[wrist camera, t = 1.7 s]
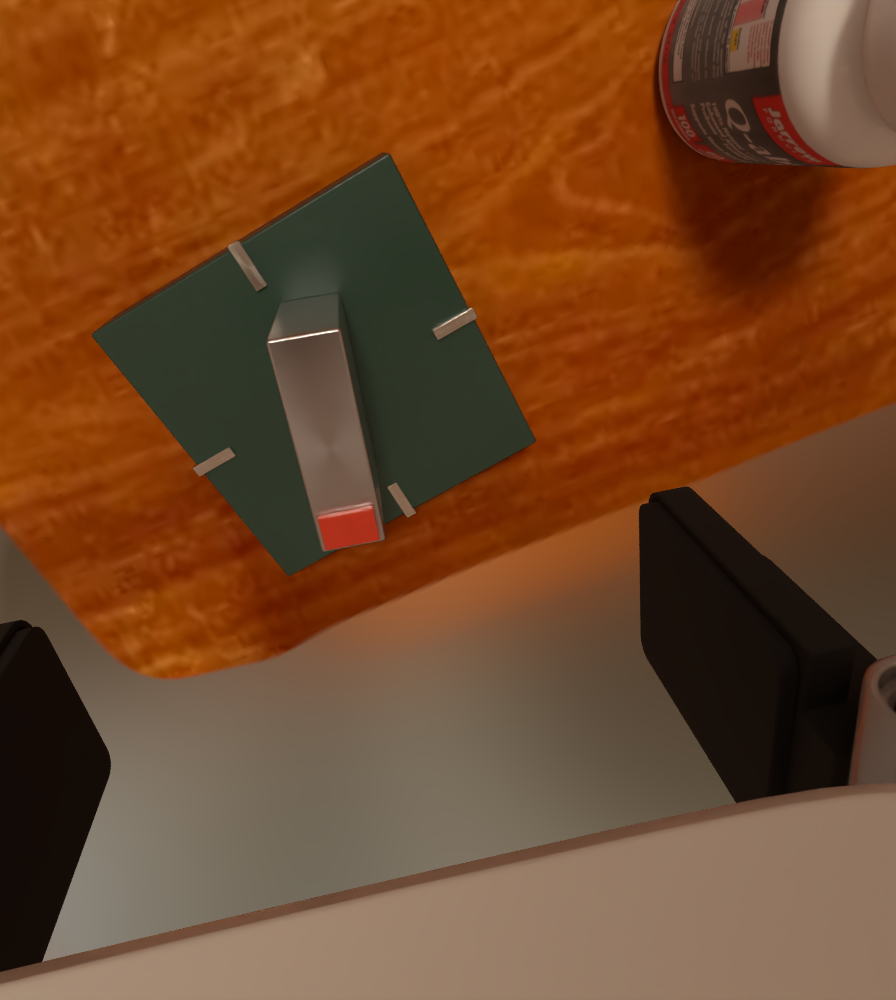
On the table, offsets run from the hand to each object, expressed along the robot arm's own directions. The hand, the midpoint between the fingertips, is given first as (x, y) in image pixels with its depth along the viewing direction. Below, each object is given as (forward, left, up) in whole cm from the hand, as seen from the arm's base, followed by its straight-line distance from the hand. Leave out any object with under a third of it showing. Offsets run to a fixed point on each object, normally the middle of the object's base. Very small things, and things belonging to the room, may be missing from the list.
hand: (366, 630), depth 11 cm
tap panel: (+1, 0, -15) cm, 15 cm away
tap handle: (+1, 0, -12) cm, 12 cm away
